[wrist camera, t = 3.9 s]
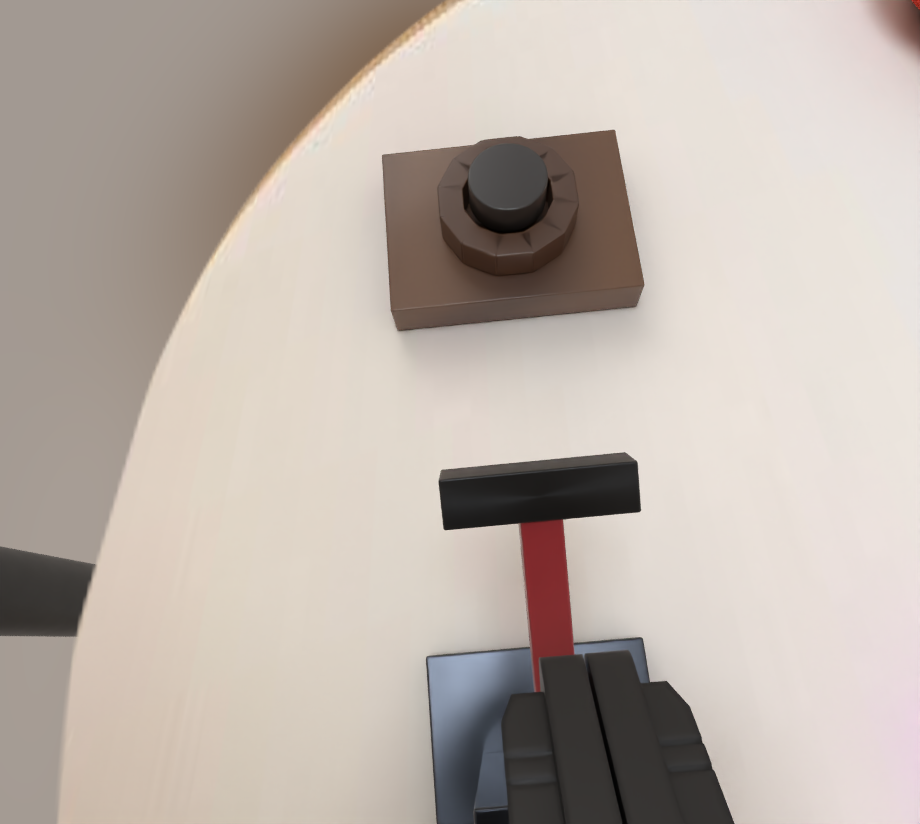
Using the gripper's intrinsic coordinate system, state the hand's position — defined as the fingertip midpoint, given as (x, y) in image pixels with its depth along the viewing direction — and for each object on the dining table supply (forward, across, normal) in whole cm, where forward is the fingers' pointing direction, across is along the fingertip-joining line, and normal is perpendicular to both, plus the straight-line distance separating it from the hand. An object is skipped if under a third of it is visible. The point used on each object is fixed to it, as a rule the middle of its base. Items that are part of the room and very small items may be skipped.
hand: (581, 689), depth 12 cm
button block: (+28, -1, -1) cm, 28 cm away
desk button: (+25, -1, -4) cm, 26 cm away
